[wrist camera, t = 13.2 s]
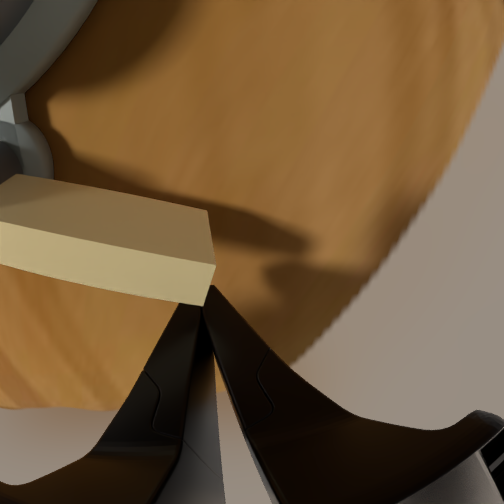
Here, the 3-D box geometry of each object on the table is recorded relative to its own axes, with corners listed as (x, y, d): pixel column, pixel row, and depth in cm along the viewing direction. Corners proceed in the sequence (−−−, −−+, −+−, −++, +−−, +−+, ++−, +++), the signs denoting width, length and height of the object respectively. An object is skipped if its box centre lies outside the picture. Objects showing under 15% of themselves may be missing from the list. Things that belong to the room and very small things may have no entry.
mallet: (-29, 213, 7) (-83, 268, 4) (-30, 139, 5) (-99, 175, 2) (190, 260, 10) (196, 343, 7) (214, 179, 9) (231, 238, 5)
